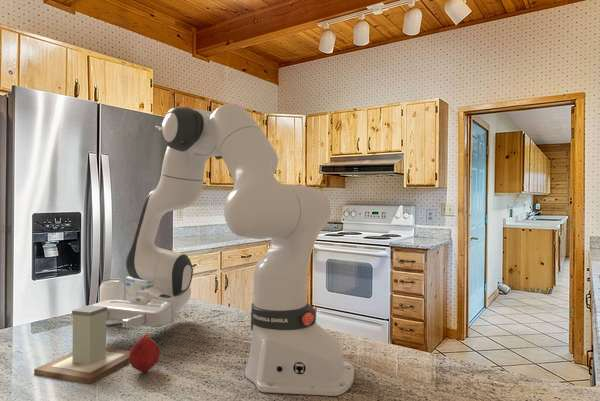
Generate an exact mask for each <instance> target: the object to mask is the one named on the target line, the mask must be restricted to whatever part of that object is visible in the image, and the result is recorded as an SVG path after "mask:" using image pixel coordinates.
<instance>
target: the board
mask: <svg viewBox="0 0 600 401" xmlns="http://www.w3.org/2000/svg"><path fill="white" fill-rule="evenodd" d="M130 351H131V350H125V349H118V348H111V347H106V357H105V358H103V359H101V360H99V361H97V362H95V363H93V364H91V365H84V364H78V363H72V354H73V351H72V352H70V353H68V354H66V355H63V356H61V357H58V358H57V359H54V360H52V361H50V362H48V363H45V364H42V365H40V366H39V367H35V368H34V369H33V371H34V372H33V374H34V375H38V376H42V375H43V376H44V377H48V376H49V377H50V378H54V379H55V378H56V379H60V380H61V379H62V380H67V381H72V382H78V383H84V384H93V383H94V382H96V381H97V380H99V379H101V378H103V377H105V376H107V375H108V374H110V373H112V372H114V371H116V370H117V369H120V368H121V367H123V366H125V365H126V364H128V363H130V360H129V354H130Z"/></svg>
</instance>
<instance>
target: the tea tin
mask: <svg viewBox="0 0 600 401" xmlns="http://www.w3.org/2000/svg"><path fill="white" fill-rule="evenodd" d="M106 311H107V307H104V306H94V305H92V304H88V305H85V306H82V307H79V308H76V309H73V310H71V315H72V352H73V354H72V363H78V364H84V365H91V364H93V363H95V362H97V361H99V360H101V359H103V358H105V357H106V348H107V325H106Z"/></svg>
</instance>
